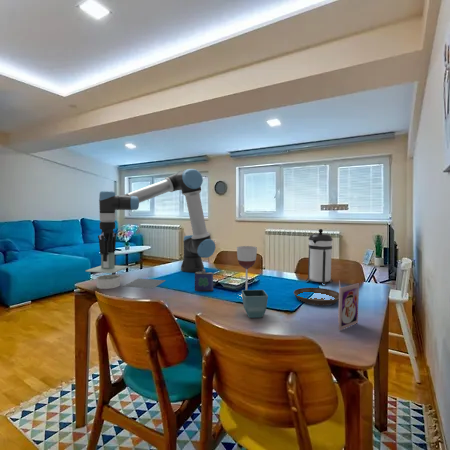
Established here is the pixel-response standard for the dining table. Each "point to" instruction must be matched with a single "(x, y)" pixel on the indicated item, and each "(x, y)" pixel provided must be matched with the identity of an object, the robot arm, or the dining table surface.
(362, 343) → the dining table surface
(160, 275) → the dining table surface
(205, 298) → the dining table surface
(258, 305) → the flower pot
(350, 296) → the greeting card
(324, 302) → the plant saucer
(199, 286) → the flask
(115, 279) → the bowl
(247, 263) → the wineglass
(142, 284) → the mat
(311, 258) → the coffee press
